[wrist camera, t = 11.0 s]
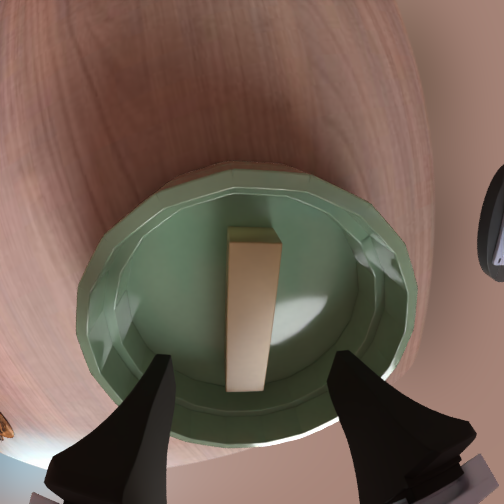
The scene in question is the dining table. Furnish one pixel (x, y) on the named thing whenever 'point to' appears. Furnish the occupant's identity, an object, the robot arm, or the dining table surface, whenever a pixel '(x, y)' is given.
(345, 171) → the dining table surface
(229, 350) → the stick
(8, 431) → the brown mottled round dish
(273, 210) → the mixing bowl
